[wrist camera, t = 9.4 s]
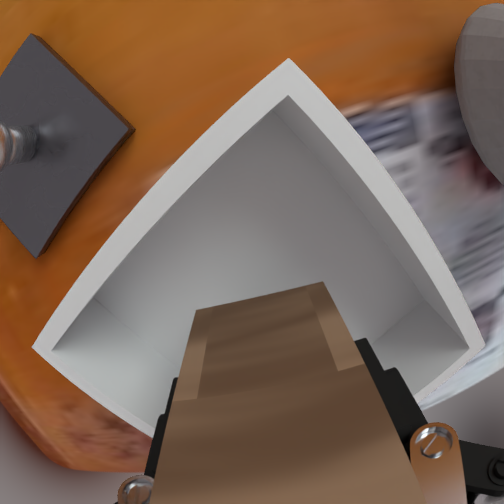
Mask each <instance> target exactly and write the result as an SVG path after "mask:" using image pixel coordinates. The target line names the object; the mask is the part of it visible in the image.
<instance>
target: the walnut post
mask: <svg viewBox="0 0 504 504" xmlns="http://www.w3.org/2000/svg"><path fill="white" fill-rule="evenodd" d="M149 504H427V502H426V500H425V497H424V495H423V492H422V490H421V487H420V485H419V482H418V480H417V478H416V475H415V473H414V470H413V468H412V466H411V463H410V461H409V459H408V456H407V454H406V452H405V449H404V447H403V445H402V442H401V440H400V438H399V436H398V433H397V431H396V429H395V427H394V424H393V422H392V420H391V418H390V416H389V413H388V411H387V409H386V407H385V405H384V403H383V400H382V398H381V396H380V394H379V392H378V390H377V388H376V386H375V383H374V381H373V379H372V377H371V375H370V373H369V371H368V369H367V367H366V365H365V363H364V361H363V359H362V357H361V354H360V352H359V350H358V348H357V346H356V344H355V342H354V340H353V338H352V336H351V334H350V332H349V330H348V328H347V326H346V324H345V322H344V321H343V319H342V317H341V315H340V313H339V311H338V309H337V307H336V305H335V303H334V301H333V299H332V297H331V295H330V293H329V291H328V290H327V288H326V286H325V284H324V282H323V281H322V282H318V283H314V284H310V285H306V286H301V287H297V288H293V289H289V290H285V291H280V292H276V293H272V294H267V295H263V296H259V297H254V298H250V299H245V300H241V301H236V302H231V303H227V304H222V305H217V306H213V307H208V308H203V309H198V310H196V312H195V316H194V319H193V323H192V327H191V330H190V334H189V338H188V342H187V345H186V349H185V353H184V357H183V361H182V365H181V368H180V372H179V376H178V380H177V384H176V388H175V392H174V396H173V400H172V404H171V408H170V413H169V417H168V421H167V425H166V429H165V434H164V438H163V442H162V447H161V451H160V455H159V460H158V464H157V469H156V474H155V478H154V483H153V487H152V492H151V497H150V502H149Z"/></svg>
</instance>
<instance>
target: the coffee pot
mask: <svg viewBox="0 0 504 504" xmlns="http://www.w3.org/2000/svg"><path fill="white" fill-rule="evenodd" d="M454 72H455V84H456V93H457V97H458V101H459V106H460V110H461V115H462V119H463V121H464V124H465V126H466V129H467V131H468V134H469V137H470V139H471V142H472V144H473V146H474V148H475V149H476V151H477V153H478V154H479V156H480V158H481V160H482V161H483V163H484V165H485V166H486V167H487V168H488V169H489V170H490V171H491V172H492V173H493V174H494V176H495V177H496V178H497V179H498V180H499V181H500V182H501V184H502V185H503V186H504V4H500V3H493V4H489V5H484V6H480V7H479V8H478V9H477V10H476V11H475V12H474V13H473V14H472V15H471V16H470V17H469V18H468V19H467V20H466V22H465V24H464V26H463V29H462V31H461V34H460V36H459V39H458V41H457V43H456V52H455V61H454Z"/></svg>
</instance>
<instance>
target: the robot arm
mask: <svg viewBox="0 0 504 504" xmlns="http://www.w3.org/2000/svg"><path fill="white" fill-rule="evenodd" d="M354 342H355V344H356V346H357V348H358V350H359V352H360V354H361V357H362V359H363V361H364V363H365V365H366V367H367V369H368V371H369V373H370V375H371V377H372V379H373V381H374V383H375V386H376V388H377V390H378V392H379V394H380V396H381V398H382V400H383V403H384V405H385V407H386V409H387V411H388V413H389V416H390V418H391V420H392V422H393V424H394V427H395V429H396V431H397V433H398V436H399V438H400V440H401V442H402V445H403V447H404V449H405V452H406V454H407V456H408V459H409V461H410V463H411V466H412V468H413V470H414V473H415V475H416V478H417V480H418V482H419V485H420V487H421V490H422V492H423V495H424V497H425V500H426V502H427V504H504V449H501V448H496V447H490V446H485V445H479V444H475V443H471V442H466V441H461V440H458V436H457V434H456V431H455V430H454V429H453V428H452V427H450V426H449V425H447V424H444V423H439V422H437V423H429V424H428V423H427V421H426V419H425V417H424V415H423V414H422V411H421V410H420V408H419V406H418V404H417V402H416V401H415V399H414V397H413V395H412V393H411V392H410V390H409V388H408V386H407V385H406V383H405V381H404V379H403V378H402V376H401V374H400V372H399V371H398V369H397V368H395V367H393V368H390V369H387V370H384V369H383V367H382V365H381V364H380V362H379V360H378V358H377V356H376V354H375V353H374V351H373V349H372V347H371V345H370V343H369V342H368V340H367V338H362V339H359V340H355V341H354ZM177 380H178V377H175V378H174V379H173V382H172V386H171V390H170V394H169V398H168V401H167V405H166V410H165V414H161V415H160V416H159V418H158V420H157V424H156V428H155V432H154V436H153V440H152V444H151V448H150V452H149V456H148V460H147V464H146V469H145V473H144V475H136V476H133V477H130V478H128V479H127V480H125V481H124V482H123V483H122V485H121V486H120V488H119V490H118V502H116V503H115V504H149V502H150V497H151V492H152V487H153V483H154V478H155V474H156V469H157V464H158V460H159V455H160V451H161V447H162V442H163V438H164V434H165V429H166V425H167V421H168V417H169V413H170V408H171V404H172V400H173V396H174V392H175V388H176V384H177Z"/></svg>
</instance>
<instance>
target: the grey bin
mask: <svg viewBox="0 0 504 504" xmlns="http://www.w3.org/2000/svg"><path fill="white" fill-rule="evenodd" d="M322 281H323V282H324V284H325V286H326V288H327V290H328V291H329V293H330V295H331V297H332V299H333V301H334V303H335V305H336V307H337V309H338V311H339V313H340V315H341V317H342V319H343V321H344V322H345V324H346V326H347V328H348V330H349V332H350V334H351V336H352V338H353V340H354V341H355V340H359V339H362V338H367V340H368V342H369V343H370V345H371V347H372V349H373V351H374V353H375V354H376V356H377V358H378V360H379V362H380V364H381V365H382V367H383V369H384V370H387V369H390V368H393V367H395V368H397V369H398V371H399V372H400V374H401V376H402V378H403V379H404V381H405V383H406V385H407V386H408V388H409V390H410V392H411V393H412V395H413V397H414V399H415V401H416V402H417V403H419V402H420V401H421V400H423V399H424V398H425V397H427V396H428V395H429V394H430V393H432V392H433V391H434V390H436V389H437V388H438V387H439V386H441V385H442V384H443V383H444V382H445V381H447V380H448V379H449V378H450V377H451V376H453V375H454V374H455V373H456V372H457V371H458V370H460V369H461V368H462V367H463V366H464V365H465V364H466V363H467V362H468V361H470V360H471V359H472V358H473V357H474V356H475V355H476V354H477V353H478V352H479V351H480V350H481V349H482V348H483V347H484V346H485V343H484V340H483V338H482V336H481V333H480V331H479V329H478V327H477V324H476V322H475V320H474V318H473V316H472V314H471V311H470V309H469V307H468V305H467V303H466V301H465V299H464V297H463V295H462V293H461V291H460V289H459V287H458V285H457V283H456V281H455V279H454V278H453V276H452V274H451V272H450V270H449V268H448V267H447V265H446V263H445V261H444V259H443V258H442V256H441V254H440V252H439V251H438V249H437V247H436V245H435V244H434V242H433V240H432V239H431V237H430V235H429V234H428V232H427V231H426V229H425V227H424V226H423V224H422V222H421V221H420V219H419V218H418V216H417V215H416V213H415V212H414V210H413V208H412V207H411V205H410V204H409V202H408V201H407V199H406V198H405V196H404V195H403V194H402V192H401V191H400V189H399V188H398V186H397V185H396V183H395V182H394V181H393V179H392V178H391V176H390V175H389V174H388V172H387V171H386V170H385V168H384V167H383V165H382V164H381V163H380V161H379V160H378V159H377V157H376V156H375V155H374V154H373V152H372V151H371V150H370V148H369V147H368V146H367V145H366V143H365V142H364V141H363V139H362V138H361V137H360V136H359V135H358V133H357V132H356V131H355V130H354V128H353V127H352V126H351V125H350V124H349V122H348V121H347V120H346V119H345V118H344V116H343V115H342V114H341V113H340V112H339V111H338V110H337V108H336V107H335V106H334V105H333V104H332V103H331V102H330V100H329V99H328V98H327V97H326V96H325V95H324V94H323V93H322V92H321V91H320V89H319V88H318V87H317V86H316V85H315V84H314V83H313V82H312V81H311V80H310V79H309V78H308V77H307V76H306V75H305V74H304V73H303V72H302V71H301V70H300V69H299V67H298V66H297V65H296V64H295V63H294V62H293V61H291V60H290V59H289V58H288V59H287V60H286V61H284V62H283V63H282V64H281V65H280V66H278V67H277V68H276V69H275V70H273V71H272V72H271V73H270V74H269V75H267V76H266V77H265V78H264V79H263V80H262V81H260V82H259V83H258V84H257V85H256V86H255V87H253V88H252V89H251V90H250V91H249V92H248V93H247V94H246V95H244V96H243V97H242V98H241V99H240V100H239V101H238V102H237V103H236V104H234V105H233V106H232V107H231V108H230V109H229V110H228V111H227V112H226V113H225V114H224V115H223V116H221V117H220V118H219V119H218V120H217V121H216V122H215V123H214V124H213V125H212V126H211V127H210V128H209V129H208V130H207V131H206V132H205V133H204V134H203V135H202V136H201V137H200V138H199V139H198V140H197V141H196V142H195V143H194V144H193V145H192V146H191V147H190V148H189V149H188V150H187V151H186V152H185V153H184V154H183V155H182V156H181V157H180V158H179V159H178V160H177V161H176V162H175V163H174V164H173V165H172V166H171V167H170V169H169V170H168V171H167V172H166V173H165V174H164V175H163V176H162V177H161V178H160V179H159V180H158V181H157V183H156V184H155V185H154V186H153V187H152V188H151V189H150V190H149V191H148V193H147V194H146V195H145V196H144V197H143V198H142V199H141V201H140V202H139V203H138V204H137V205H136V206H135V207H134V209H133V210H132V211H131V212H130V213H129V214H128V216H127V217H126V218H125V219H124V220H123V222H122V223H121V224H120V225H119V226H118V228H117V229H116V230H115V231H114V233H113V234H112V235H111V236H110V237H109V239H108V240H107V241H106V242H105V244H104V245H103V246H102V248H101V249H100V250H99V251H98V253H97V254H96V255H95V257H94V258H93V259H92V260H91V262H90V263H89V264H88V266H87V267H86V268H85V270H84V271H83V272H82V274H81V275H80V276H79V278H78V279H77V281H76V282H75V283H74V285H73V286H72V287H71V289H70V290H69V292H68V293H67V295H66V296H65V297H64V299H63V300H62V302H61V303H60V305H59V306H58V307H57V309H56V310H55V312H54V313H53V315H52V316H51V318H50V319H49V321H48V322H47V324H46V326H45V327H44V329H43V330H42V332H41V333H40V335H39V336H38V338H37V340H36V341H35V343H34V344H33V346H32V348H33V349H34V350H35V351H36V352H37V353H38V354H40V355H41V356H42V357H43V358H44V359H45V360H46V361H47V362H48V363H50V364H51V365H52V366H53V367H54V368H55V369H57V370H58V371H59V372H60V373H61V374H62V375H64V376H65V377H66V378H67V379H69V380H70V381H71V382H72V383H74V384H75V385H76V386H77V387H79V388H80V389H81V390H82V391H84V392H85V393H86V394H88V395H89V396H90V397H92V398H93V399H94V400H96V401H97V402H98V403H100V404H101V405H103V406H104V407H105V408H107V409H108V410H110V411H111V412H113V413H114V414H116V415H117V416H118V417H120V418H121V419H123V420H124V421H126V422H128V423H129V424H131V425H132V426H134V427H135V428H137V429H138V430H140V431H142V432H143V433H145V434H147V435H148V436H150V437H152V438H153V436H154V432H155V428H156V424H157V420H158V418H159V416H160V415H161V414H165V410H166V405H167V401H168V398H169V394H170V390H171V386H172V382H173V379H174V378H175V377H178V376H179V372H180V368H181V365H182V361H183V357H184V353H185V349H186V345H187V342H188V338H189V334H190V330H191V327H192V323H193V319H194V316H195V312H196V310H198V309H203V308H208V307H213V306H217V305H222V304H227V303H231V302H236V301H241V300H245V299H250V298H254V297H259V296H263V295H267V294H272V293H276V292H280V291H285V290H289V289H293V288H297V287H301V286H306V285H310V284H314V283H318V282H322Z"/></svg>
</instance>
